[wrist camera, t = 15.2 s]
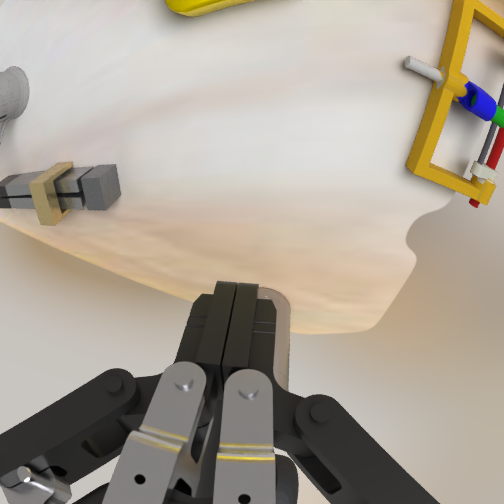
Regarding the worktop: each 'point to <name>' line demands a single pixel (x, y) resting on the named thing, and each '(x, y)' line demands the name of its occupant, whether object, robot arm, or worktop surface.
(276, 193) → the worktop surface
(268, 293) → the robot arm
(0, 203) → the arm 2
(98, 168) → the plate
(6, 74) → the glass holder
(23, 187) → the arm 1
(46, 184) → the tan framed block
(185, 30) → the worktop surface
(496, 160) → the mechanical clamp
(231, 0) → the element tile
